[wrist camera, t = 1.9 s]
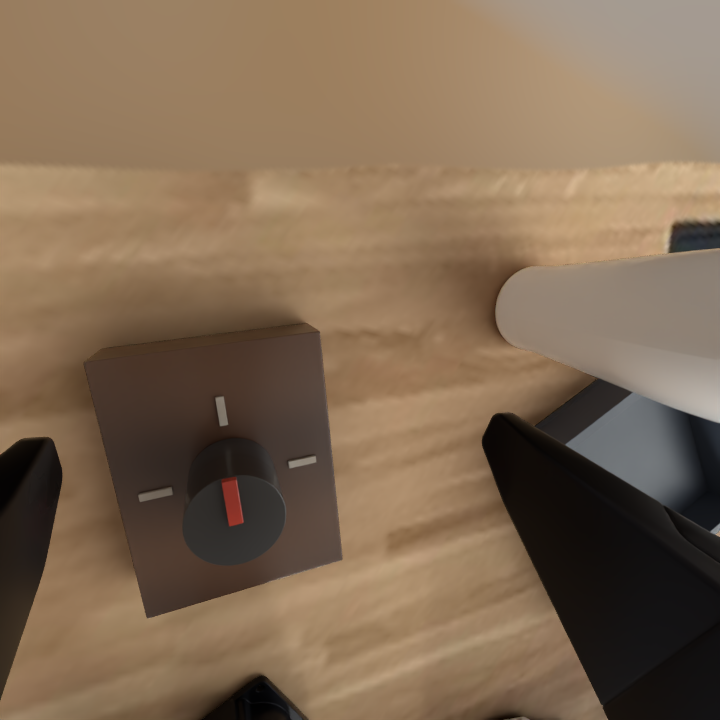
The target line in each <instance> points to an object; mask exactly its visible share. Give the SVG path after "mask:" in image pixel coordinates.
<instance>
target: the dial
mask: <svg viewBox="0 0 720 720" xmlns="http://www.w3.org/2000/svg"><path fill="white" fill-rule="evenodd" d="M285 522H286V505H285V501H284V498H283V494H282V491H281V488H280V484H279V481H278V477H277V474H276V470H275V467H274V463H273V461H272V458H271V457H270V455H269V453H268V452H267V451H266V450H265V449H264V448H263V447H262V446H260V445H259V444H257V443H255V442H253V441H250V440H247V439H241V438H231V439H225V440H221V441H218V442H216V443H214V444H212V445H210V446H208V447H207V448H205V449H204V450H203V451H202V452H201V453H200V454H199V455H198V456H197V457H196V459H195V460H194V461H193V463H192V465H191V468H190V470H189V475H188V482H187V489H186V497H185V505H184V513H183V520H182V532H183V537H184V540H185V542H186V544H187V546H188V547H189V549H190V550H191V551H192V552H193V553H194V554H195V555H196V556H197V557H198V558H200V559H202V560H203V561H205V562H208V563H211V564H215V565H221V566H232V565H239V564H243V563H246V562H249V561H252V560H254V559H256V558H258V557H259V556H261V555H262V554H264V553H265V552H267V551H268V550H269V549H270V548H271V547H272V546H273V545H274V544H275V542H276V541H277V540H278V538H279V537H280V535H281V533H282V531H283V528H284V526H285Z"/></svg>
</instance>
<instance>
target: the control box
mask: <svg viewBox="0 0 720 720" xmlns="http://www.w3.org/2000/svg"><path fill="white" fill-rule="evenodd" d="M84 367H85V371H86V375H87V379H88V383H89V387H90V391H91V395H92V399H93V403H94V407H95V411H96V415H97V419H98V423H99V427H100V431H101V435H102V440H103V444H104V448H105V452H106V456H107V460H108V464H109V468H110V472H111V476H112V480H113V484H114V488H115V492H116V496H117V500H118V504H119V508H120V512H121V516H122V520H123V524H124V528H125V532H126V536H127V540H128V544H129V548H130V553H131V557H132V561H133V565H134V569H135V573H136V577H137V581H138V585H139V589H140V593H141V597H142V601H143V605H144V609H145V613H146V617H147V618H151V617H154V616H158V615H161V614H164V613H168V612H171V611H174V610H178V609H181V608H184V607H188V606H191V605H194V604H198V603H201V602H204V601H207V600H211V599H214V598H217V597H221V596H224V595H227V594H231V593H234V592H237V591H241V590H244V589H247V588H251V587H254V586H257V585H261V584H264V583H267V582H271V581H274V580H277V579H280V578H284V577H287V576H290V575H294V574H297V573H300V572H304V571H307V570H310V569H314V568H317V567H320V566H324V565H327V564H330V563H334V562H337V561H340V560H342V549H341V539H340V529H339V519H338V509H337V499H336V489H335V479H334V469H333V459H332V449H331V439H330V429H329V419H328V409H327V399H326V389H325V379H324V369H323V359H322V349H321V339H320V332H319V331H318V330H317V329H315V328H314V327H312V326H310V325H309V324H307V323H304V324H296V325H288V326H279V327H271V328H263V329H255V330H247V331H239V332H231V333H223V334H215V335H207V336H199V337H191V338H183V339H175V340H167V341H159V342H151V343H143V344H135V345H127V346H119V347H111V348H103V349H101V350H100V351H98V352H97V353H96V354H94V355H93V356H92V357H90V358H89V359H87V360H86V361H85V362H84ZM231 438H241V439H247V440H250V441H253V442H255V443H257V444H259V445H260V446H262V447H263V448H264V449H265V450H266V451H267V452H268V453H269V455H270V457H271V458H272V461H273V463H274V467H275V470H276V474H277V477H278V481H279V484H280V488H281V491H282V494H283V498H284V501H285V505H286V522H285V526H284V528H283V531H282V533H281V535H280V537H279V538H278V540H277V541H276V542H275V544H274V545H273V546H272V547H271V548H270V549H269V550H268V551H267V552H265V553H264V554H262V555H261V556H259V557H258V558H256V559H254V560H252V561H249V562H246V563H243V564H239V565H232V566H221V565H215V564H211V563H208V562H205V561H203V560H202V559H200V558H198V557H197V556H196V555H195V554H194V553H193V552H192V551H191V550H190V549H189V547H188V546H187V544H186V542H185V540H184V537H183V532H182V520H183V513H184V505H185V497H186V489H187V482H188V475H189V470H190V468H191V465H192V463H193V461H194V460H195V459H196V457H197V456H198V455H199V454H200V453H201V452H202V451H203V450H204V449H205V448H207V447H208V446H210V445H212V444H214V443H216V442H218V441H221V440H225V439H231Z"/></svg>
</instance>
